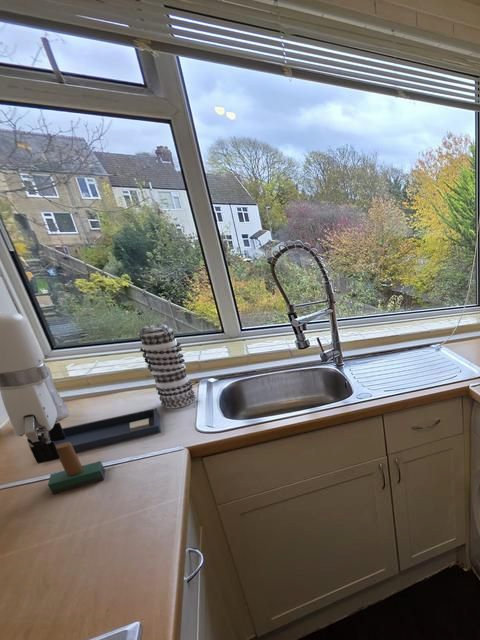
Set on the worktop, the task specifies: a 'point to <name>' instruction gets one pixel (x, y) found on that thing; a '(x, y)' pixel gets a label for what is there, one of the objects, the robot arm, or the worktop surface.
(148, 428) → the tray
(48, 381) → the plastic bottle
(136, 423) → the cream square tile
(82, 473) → the brush
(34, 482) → the worktop surface
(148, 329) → the black white patterned cylinder
